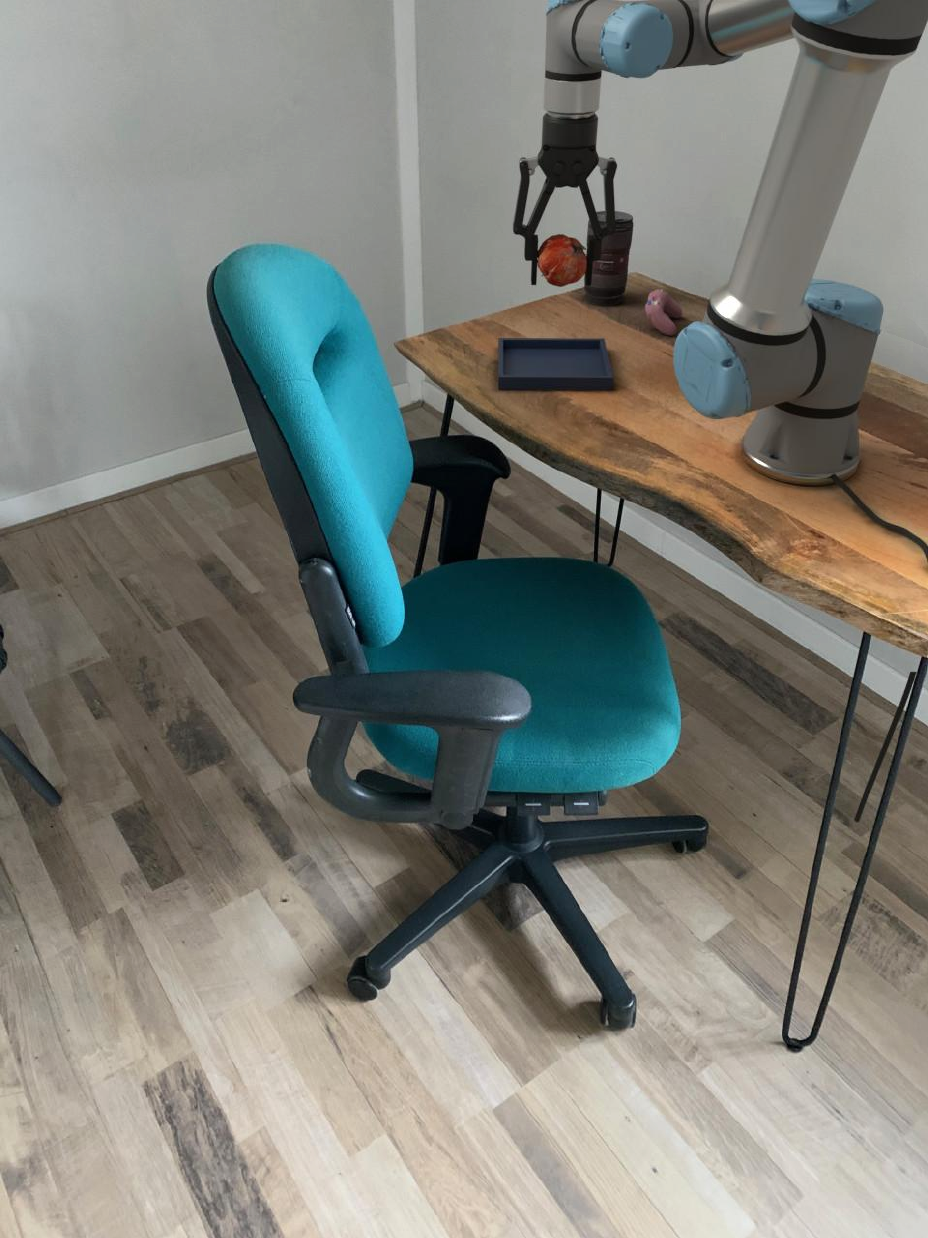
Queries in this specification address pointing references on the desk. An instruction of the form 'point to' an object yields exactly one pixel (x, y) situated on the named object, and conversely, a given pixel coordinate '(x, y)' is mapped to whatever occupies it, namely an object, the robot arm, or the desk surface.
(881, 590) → the desk surface
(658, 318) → the video game controller
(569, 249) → the pomegranate
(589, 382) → the tray
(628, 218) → the camera lens
